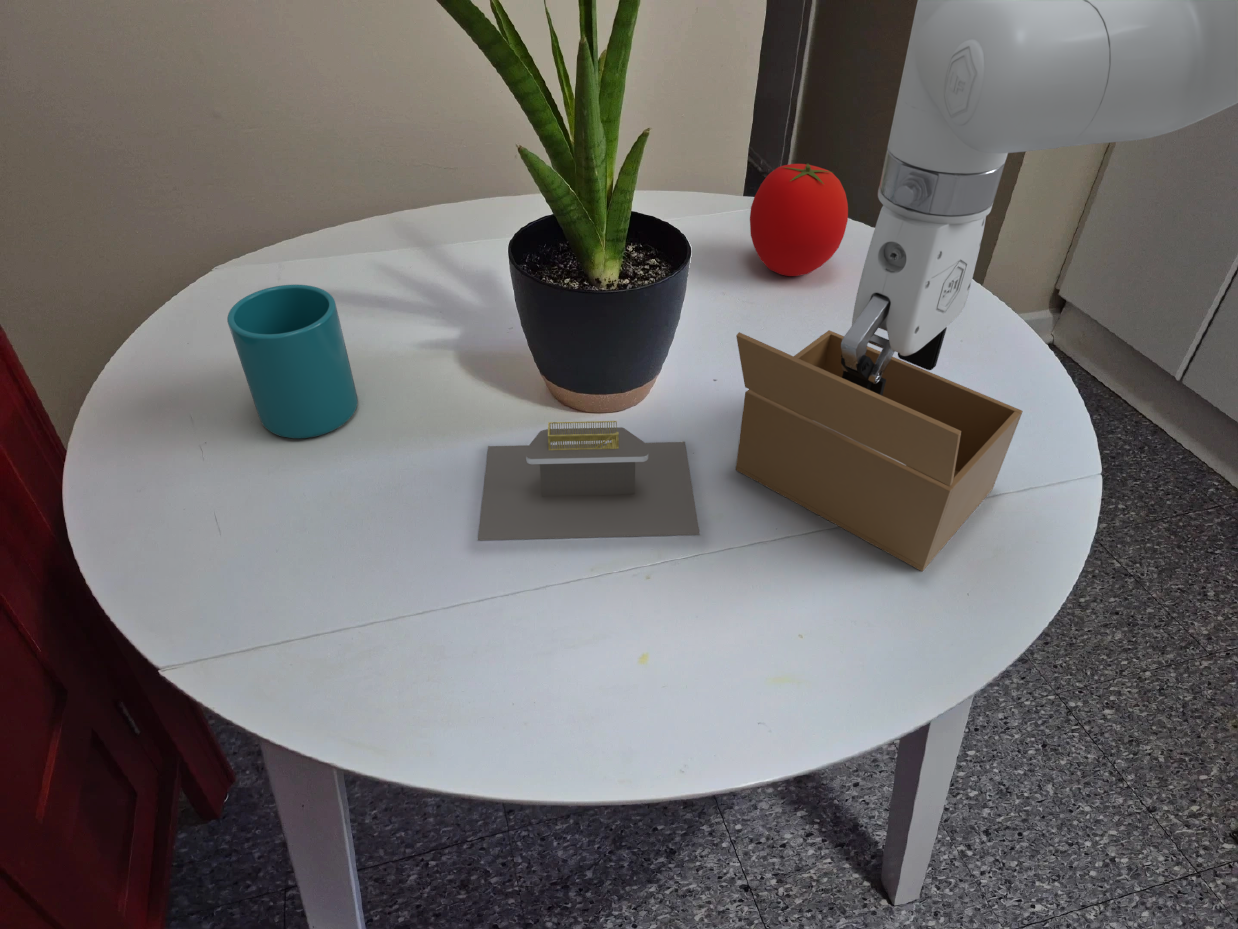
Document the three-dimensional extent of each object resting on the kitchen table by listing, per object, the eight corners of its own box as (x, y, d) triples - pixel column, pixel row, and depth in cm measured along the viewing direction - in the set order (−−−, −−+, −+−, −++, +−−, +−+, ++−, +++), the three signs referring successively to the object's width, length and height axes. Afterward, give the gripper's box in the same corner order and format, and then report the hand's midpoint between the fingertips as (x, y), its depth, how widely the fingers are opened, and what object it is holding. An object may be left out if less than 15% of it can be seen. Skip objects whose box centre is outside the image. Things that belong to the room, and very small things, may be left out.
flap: (961, 430, 57) (958, 435, 57) (953, 482, 62) (950, 486, 62) (739, 331, 66) (735, 335, 66) (747, 383, 71) (744, 387, 71)
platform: (488, 446, 79) (481, 387, 75) (685, 441, 80) (689, 383, 75) (477, 540, 70) (469, 479, 66) (699, 534, 71) (705, 474, 66)
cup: (371, 366, 89) (349, 266, 81) (350, 440, 80) (323, 335, 72) (281, 369, 88) (251, 268, 81) (249, 443, 79) (213, 338, 72)
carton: (992, 489, 75) (1023, 410, 70) (922, 571, 68) (950, 491, 62) (814, 405, 84) (828, 329, 79) (735, 470, 77) (745, 391, 71)
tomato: (731, 252, 108) (742, 150, 100) (812, 243, 110) (829, 142, 102) (765, 297, 100) (779, 190, 91) (851, 286, 102) (873, 180, 93)
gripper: (931, 239, 52) (874, 460, 63) (1044, 158, 61) (978, 361, 72) (822, 203, 55) (786, 417, 66) (945, 132, 65) (896, 329, 76)
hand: (886, 388), depth 69 cm, fingers open, 9 cm apart
